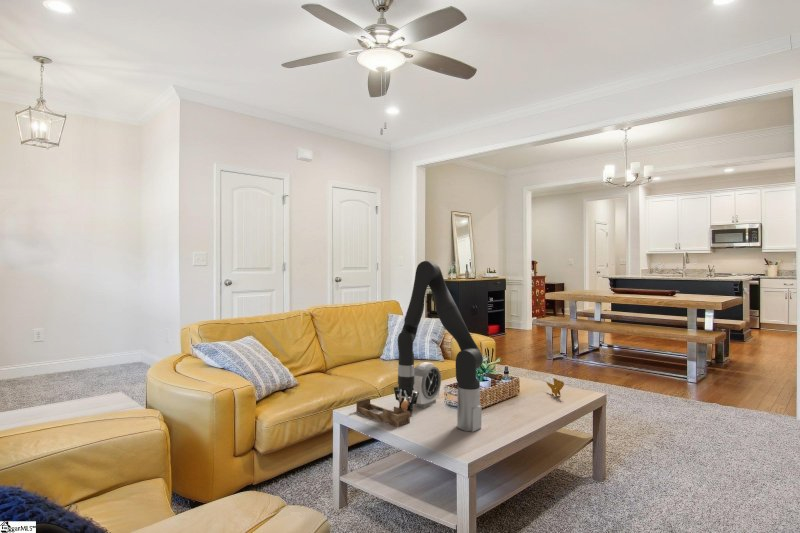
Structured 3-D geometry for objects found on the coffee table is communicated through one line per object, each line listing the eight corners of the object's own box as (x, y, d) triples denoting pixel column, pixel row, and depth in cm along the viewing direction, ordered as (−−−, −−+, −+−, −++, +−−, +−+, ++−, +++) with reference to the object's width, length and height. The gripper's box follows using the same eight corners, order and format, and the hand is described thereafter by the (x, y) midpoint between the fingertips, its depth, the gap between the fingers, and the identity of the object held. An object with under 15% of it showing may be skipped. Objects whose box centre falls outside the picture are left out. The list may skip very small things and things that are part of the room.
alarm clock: (422, 410, 209) (422, 367, 209) (407, 406, 214) (407, 364, 214) (442, 401, 223) (442, 360, 223) (428, 397, 228) (428, 358, 228)
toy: (564, 394, 225) (559, 374, 230) (547, 399, 239) (543, 380, 243) (568, 394, 226) (563, 374, 230) (552, 399, 240) (547, 380, 244)
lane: (409, 423, 193) (409, 411, 192) (397, 427, 187) (397, 415, 187) (368, 408, 212) (368, 397, 212) (356, 411, 206) (356, 401, 206)
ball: (412, 410, 202) (412, 400, 202) (405, 412, 198) (406, 403, 198) (405, 408, 205) (405, 398, 205) (398, 410, 202) (399, 400, 201)
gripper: (423, 375, 199) (423, 413, 199) (400, 369, 209) (400, 406, 209) (412, 378, 194) (411, 417, 194) (389, 372, 204) (388, 409, 204)
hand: (405, 411), depth 202 cm, fingers closed on ball, 4 cm apart
